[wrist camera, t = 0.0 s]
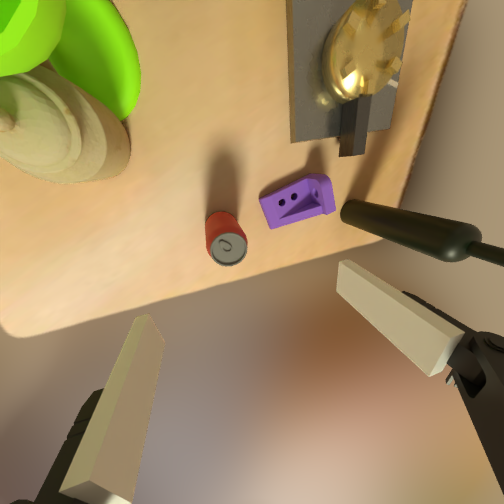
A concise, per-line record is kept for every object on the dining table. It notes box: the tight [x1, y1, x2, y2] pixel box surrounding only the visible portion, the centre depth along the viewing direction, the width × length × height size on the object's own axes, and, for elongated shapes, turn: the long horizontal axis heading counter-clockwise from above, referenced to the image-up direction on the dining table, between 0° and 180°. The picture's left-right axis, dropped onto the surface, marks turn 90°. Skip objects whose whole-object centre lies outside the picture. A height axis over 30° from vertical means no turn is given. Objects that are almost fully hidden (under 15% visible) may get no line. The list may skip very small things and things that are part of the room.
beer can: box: [205, 212, 247, 266], centre depth 32 cm, size 7×7×12 cm
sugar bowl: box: [0, 59, 131, 184], centre depth 19 cm, size 15×11×15 cm
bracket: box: [259, 173, 336, 229], centre depth 36 cm, size 12×7×7 cm, turn 113°
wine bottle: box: [340, 199, 504, 267], centre depth 30 cm, size 6×6×30 cm
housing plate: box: [286, 0, 413, 143], centre depth 30 cm, size 20×20×2 cm
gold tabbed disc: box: [322, 0, 410, 157], centre depth 28 cm, size 19×11×5 cm, turn 8°
